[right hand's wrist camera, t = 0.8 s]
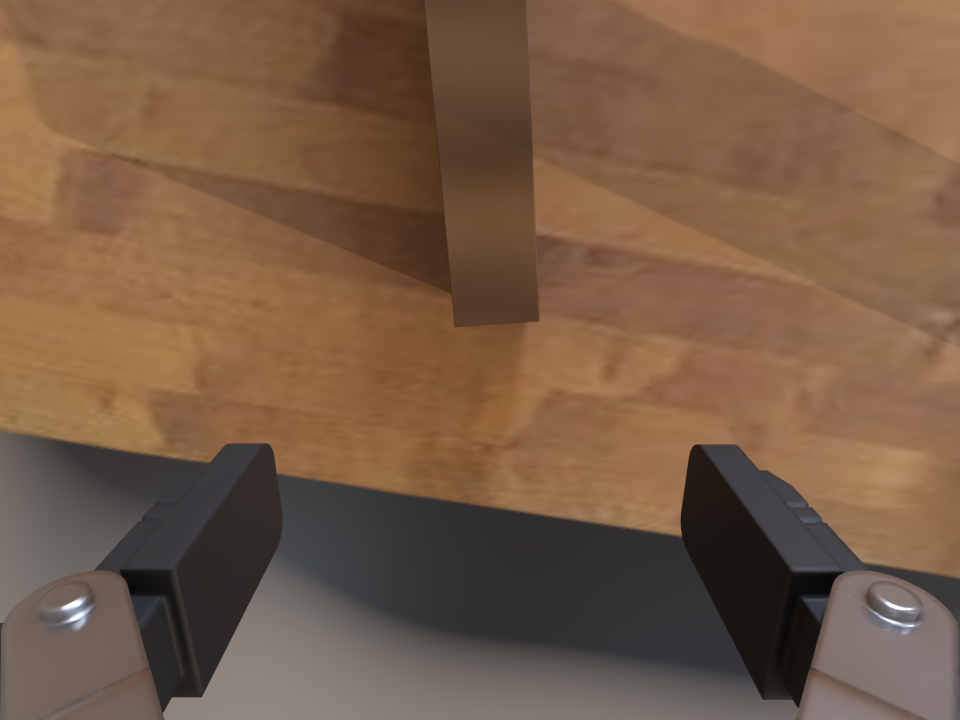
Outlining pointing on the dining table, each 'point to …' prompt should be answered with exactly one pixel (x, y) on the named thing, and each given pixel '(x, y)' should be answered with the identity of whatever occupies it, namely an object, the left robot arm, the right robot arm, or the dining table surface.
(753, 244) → the dining table surface
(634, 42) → the dining table surface
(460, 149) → the beam
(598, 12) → the dining table surface
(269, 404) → the dining table surface
